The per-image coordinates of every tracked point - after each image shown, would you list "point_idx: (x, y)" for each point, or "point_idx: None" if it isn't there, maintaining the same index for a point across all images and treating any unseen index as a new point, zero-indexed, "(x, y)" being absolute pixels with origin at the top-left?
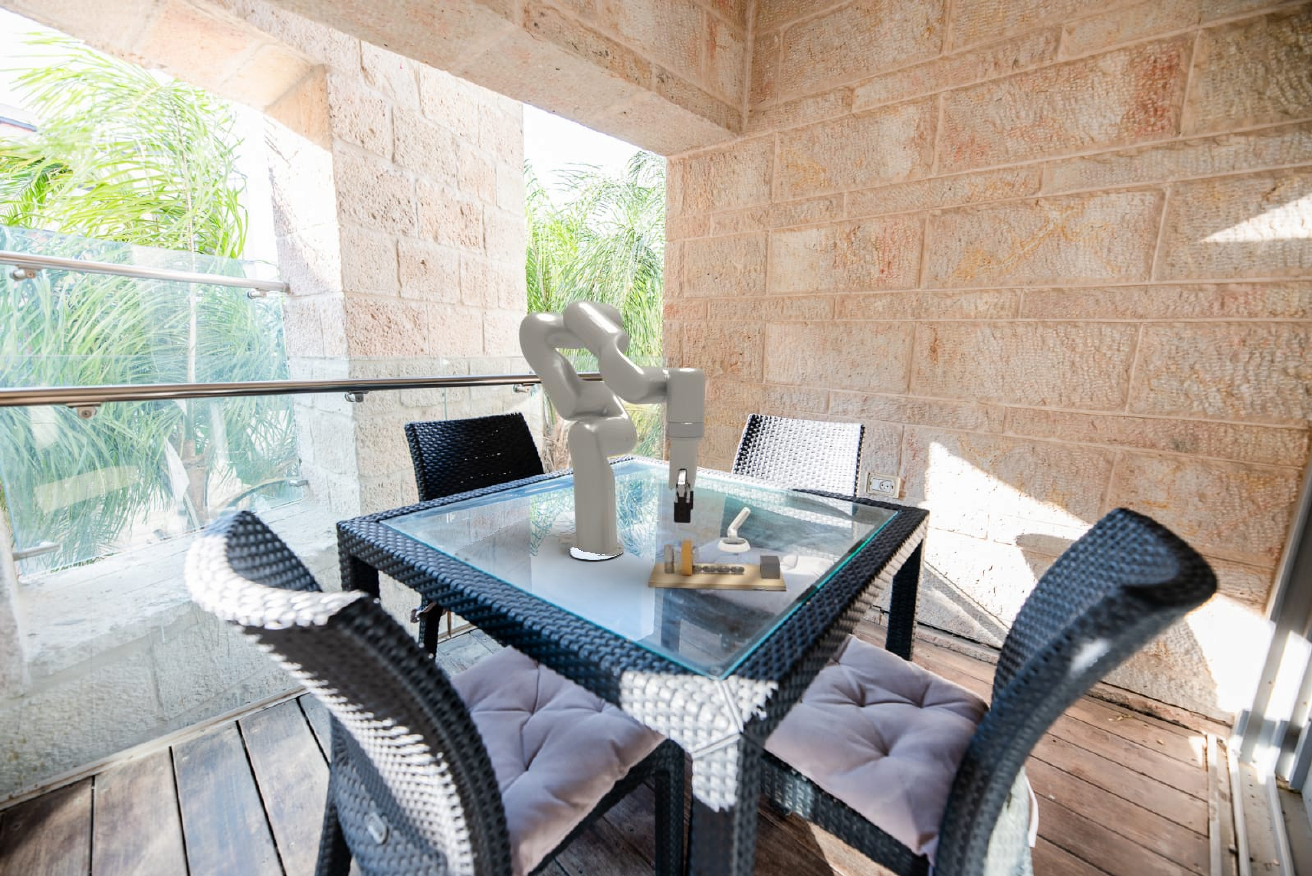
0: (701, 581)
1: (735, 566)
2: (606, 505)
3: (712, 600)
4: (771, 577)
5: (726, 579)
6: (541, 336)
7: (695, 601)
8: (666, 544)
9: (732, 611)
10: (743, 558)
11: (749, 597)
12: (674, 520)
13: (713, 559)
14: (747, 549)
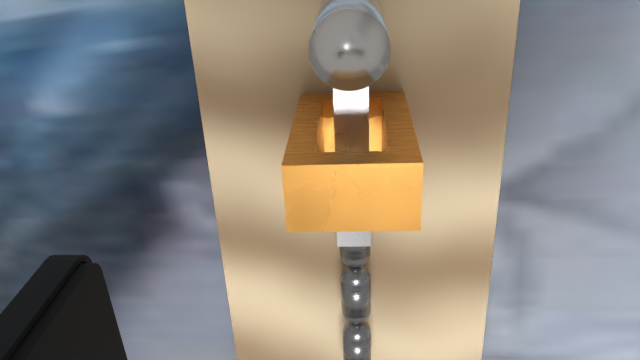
0: (236, 192)
1: (359, 349)
2: None
3: (105, 228)
4: None
5: (282, 291)
6: None
7: (73, 164)
8: (382, 26)
9: None
10: (629, 344)
11: (173, 347)
12: (44, 268)
13: (633, 218)
14: None
